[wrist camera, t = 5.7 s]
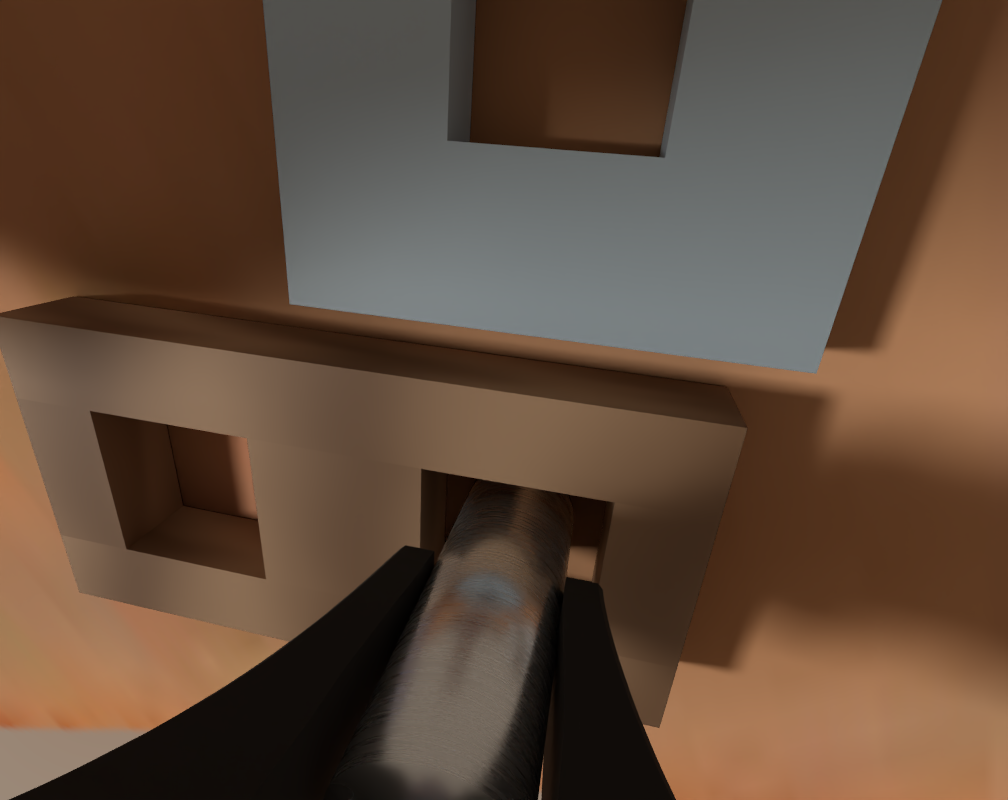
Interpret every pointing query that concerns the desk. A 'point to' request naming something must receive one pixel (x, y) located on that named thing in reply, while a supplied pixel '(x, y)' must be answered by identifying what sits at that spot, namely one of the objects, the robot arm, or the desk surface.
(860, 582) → the desk surface
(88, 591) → the rack
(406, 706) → the peg
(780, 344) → the socket block
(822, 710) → the desk surface
